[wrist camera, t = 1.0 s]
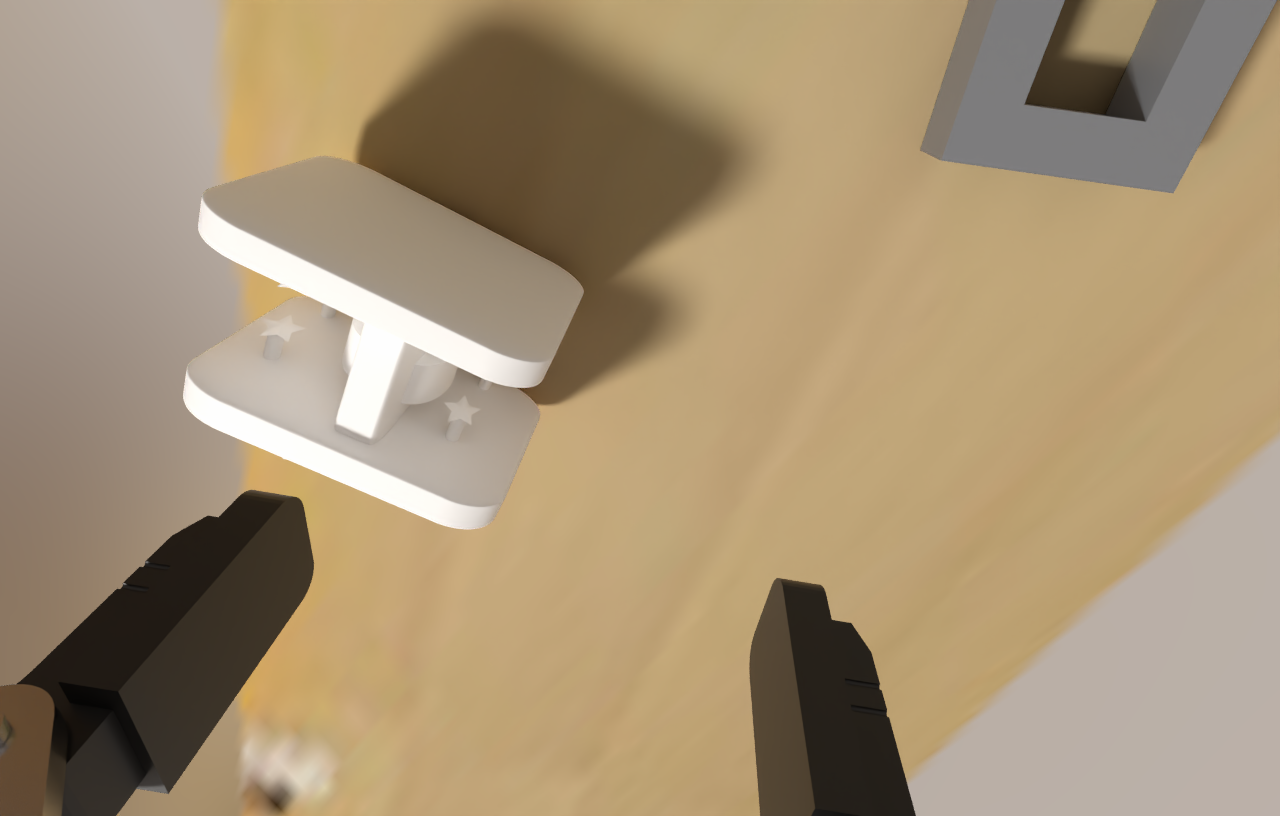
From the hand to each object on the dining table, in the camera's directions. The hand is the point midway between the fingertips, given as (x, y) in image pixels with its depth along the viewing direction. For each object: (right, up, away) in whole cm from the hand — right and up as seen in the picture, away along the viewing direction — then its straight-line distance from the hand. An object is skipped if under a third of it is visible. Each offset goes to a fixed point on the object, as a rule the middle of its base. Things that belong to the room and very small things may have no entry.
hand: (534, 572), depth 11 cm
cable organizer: (-9, +9, +25) cm, 28 cm away
